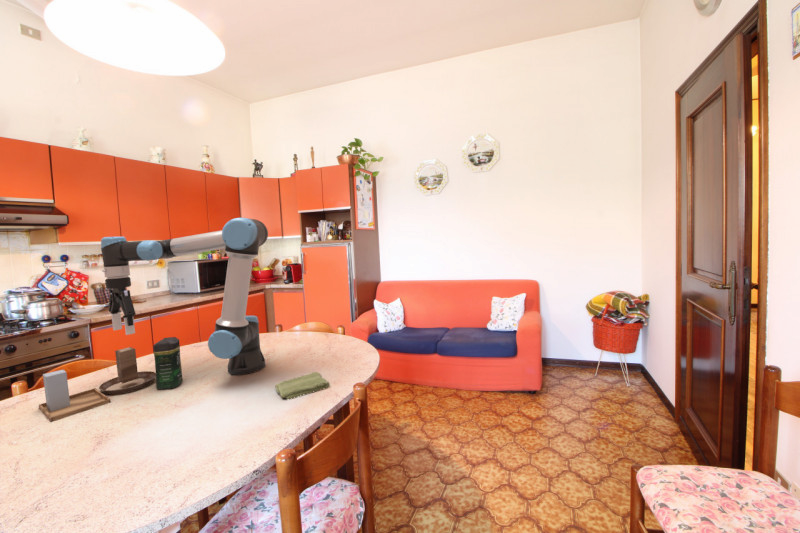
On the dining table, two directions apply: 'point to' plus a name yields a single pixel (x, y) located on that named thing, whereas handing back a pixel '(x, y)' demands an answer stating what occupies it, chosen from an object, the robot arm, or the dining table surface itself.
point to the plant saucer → (145, 375)
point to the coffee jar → (167, 363)
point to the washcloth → (301, 385)
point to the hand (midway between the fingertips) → (123, 331)
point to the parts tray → (77, 404)
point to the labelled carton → (126, 364)
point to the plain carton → (56, 390)
